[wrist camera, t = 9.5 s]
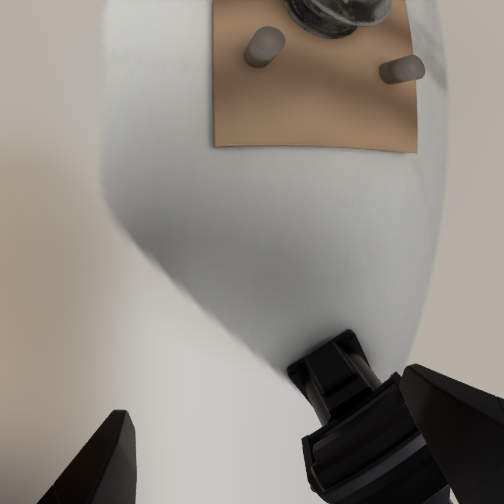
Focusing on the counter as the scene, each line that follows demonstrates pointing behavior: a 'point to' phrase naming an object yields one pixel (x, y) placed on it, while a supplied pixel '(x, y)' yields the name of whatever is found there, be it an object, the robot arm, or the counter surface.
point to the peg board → (312, 81)
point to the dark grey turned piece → (337, 15)
